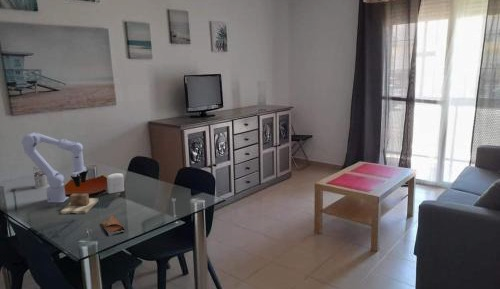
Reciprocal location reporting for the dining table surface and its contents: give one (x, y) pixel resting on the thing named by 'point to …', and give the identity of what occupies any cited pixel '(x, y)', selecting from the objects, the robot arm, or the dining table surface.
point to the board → (79, 207)
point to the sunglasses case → (112, 224)
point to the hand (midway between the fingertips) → (80, 184)
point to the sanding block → (79, 199)
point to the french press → (40, 179)
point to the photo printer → (115, 183)
